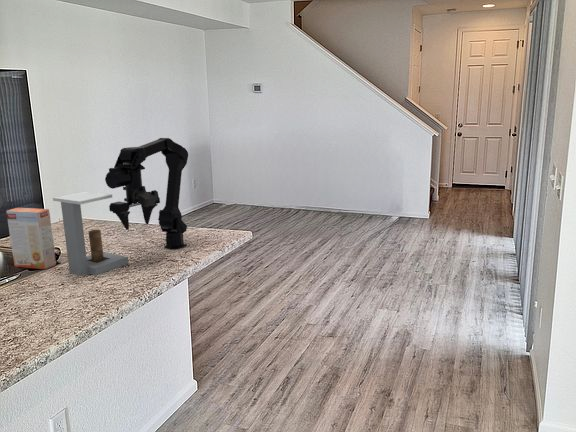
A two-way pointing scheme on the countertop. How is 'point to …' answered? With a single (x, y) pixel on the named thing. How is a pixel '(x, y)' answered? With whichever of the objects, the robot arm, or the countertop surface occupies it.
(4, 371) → the countertop surface
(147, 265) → the countertop surface
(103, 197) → the socket stand
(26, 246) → the cracker box
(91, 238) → the walnut peg
